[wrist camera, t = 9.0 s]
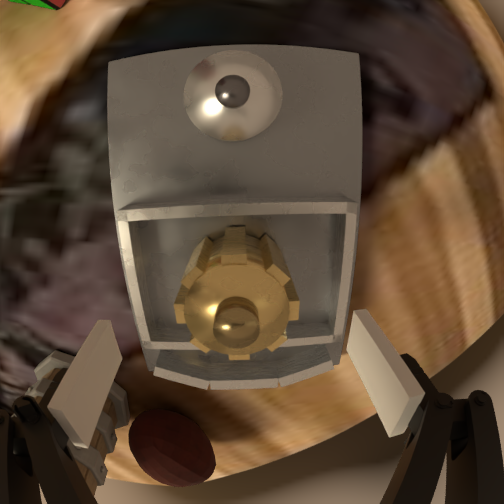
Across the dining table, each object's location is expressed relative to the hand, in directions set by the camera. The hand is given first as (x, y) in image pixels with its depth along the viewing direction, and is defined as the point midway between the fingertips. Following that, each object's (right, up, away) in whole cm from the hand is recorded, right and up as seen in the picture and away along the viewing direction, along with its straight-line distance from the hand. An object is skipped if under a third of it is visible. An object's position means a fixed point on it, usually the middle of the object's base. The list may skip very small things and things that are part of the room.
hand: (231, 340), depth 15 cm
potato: (-8, -16, +16) cm, 24 cm away
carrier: (0, +7, +8) cm, 10 cm away
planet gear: (0, +3, +8) cm, 9 cm away
